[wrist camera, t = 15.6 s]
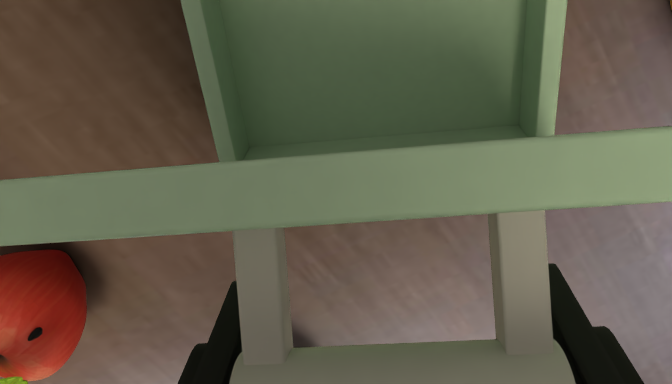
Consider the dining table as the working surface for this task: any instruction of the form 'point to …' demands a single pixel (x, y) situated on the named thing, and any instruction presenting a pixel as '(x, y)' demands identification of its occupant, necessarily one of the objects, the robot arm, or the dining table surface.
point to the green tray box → (374, 72)
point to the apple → (39, 313)
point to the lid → (365, 206)
